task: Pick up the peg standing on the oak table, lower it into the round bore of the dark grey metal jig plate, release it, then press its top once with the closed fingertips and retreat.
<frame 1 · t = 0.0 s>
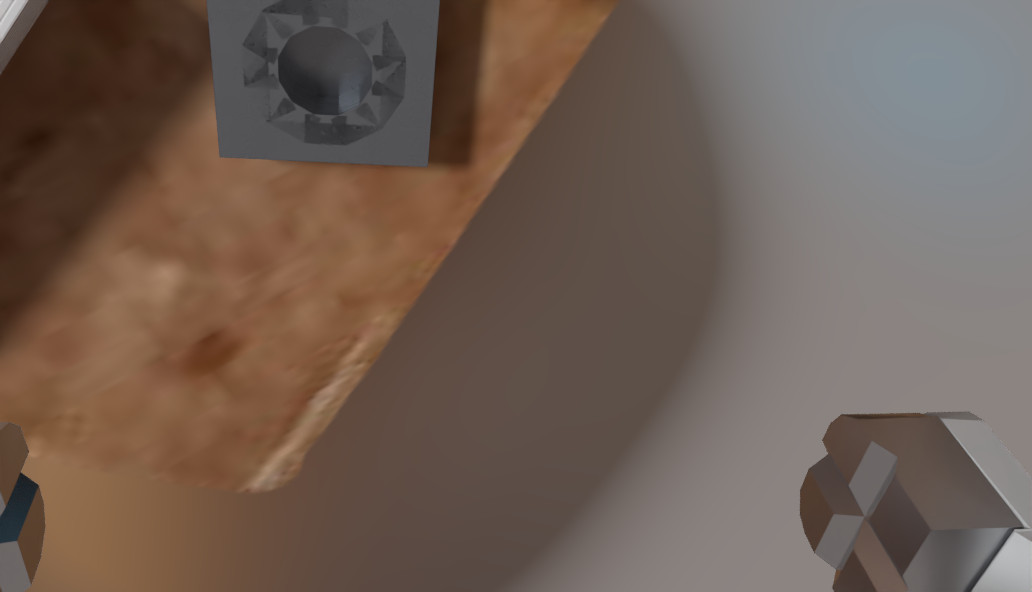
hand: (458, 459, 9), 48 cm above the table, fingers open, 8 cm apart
jig: (327, 17, 53), on the table
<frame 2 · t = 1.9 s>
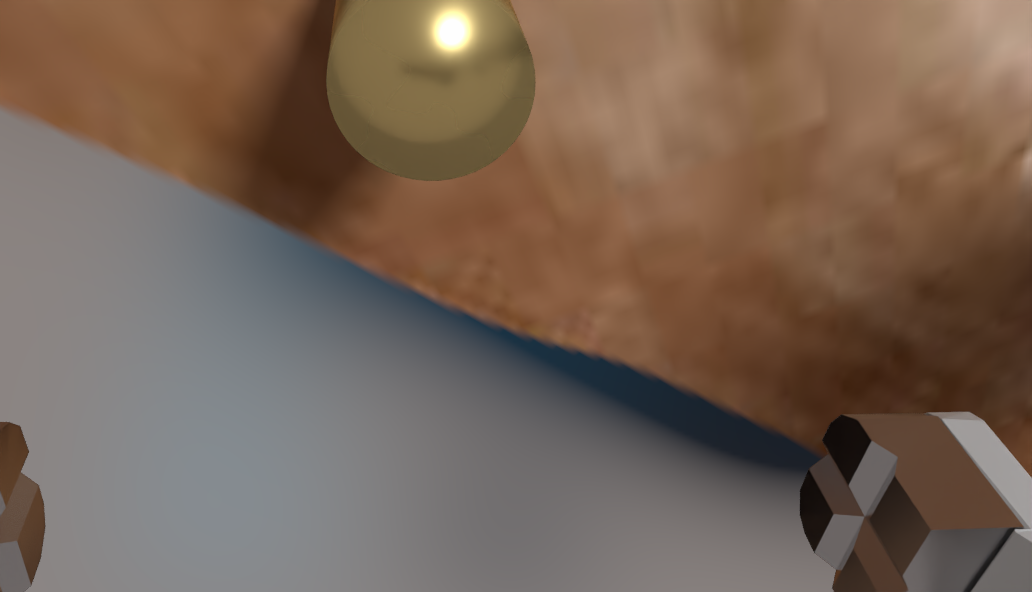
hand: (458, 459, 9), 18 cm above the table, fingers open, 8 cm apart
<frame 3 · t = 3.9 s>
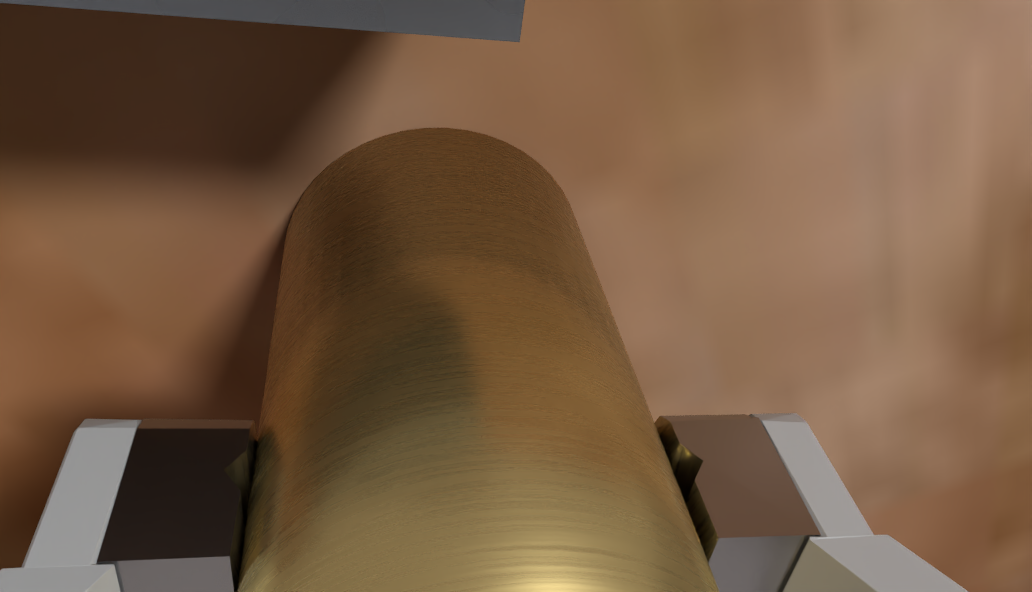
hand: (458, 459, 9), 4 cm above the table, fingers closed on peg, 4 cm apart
peg: (435, 262, 12), on the table, touching gripper
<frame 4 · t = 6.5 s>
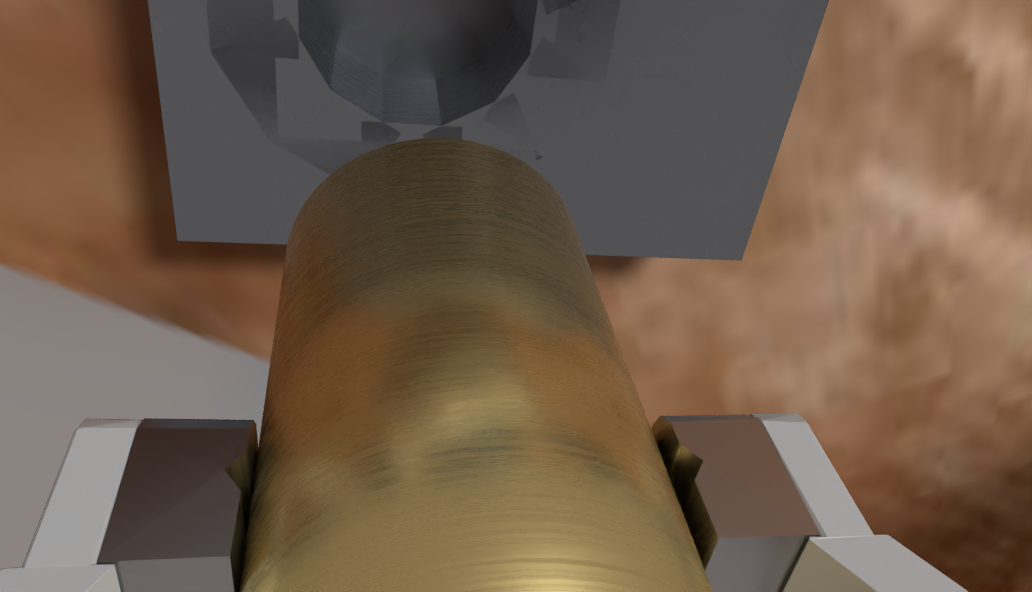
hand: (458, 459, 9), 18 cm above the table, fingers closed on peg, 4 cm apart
peg: (435, 271, 12), point 14 cm above the table, touching gripper
when the fingers open (6 cm above the table, at t = 9.1 s): peg stays where it is, resting on jig.
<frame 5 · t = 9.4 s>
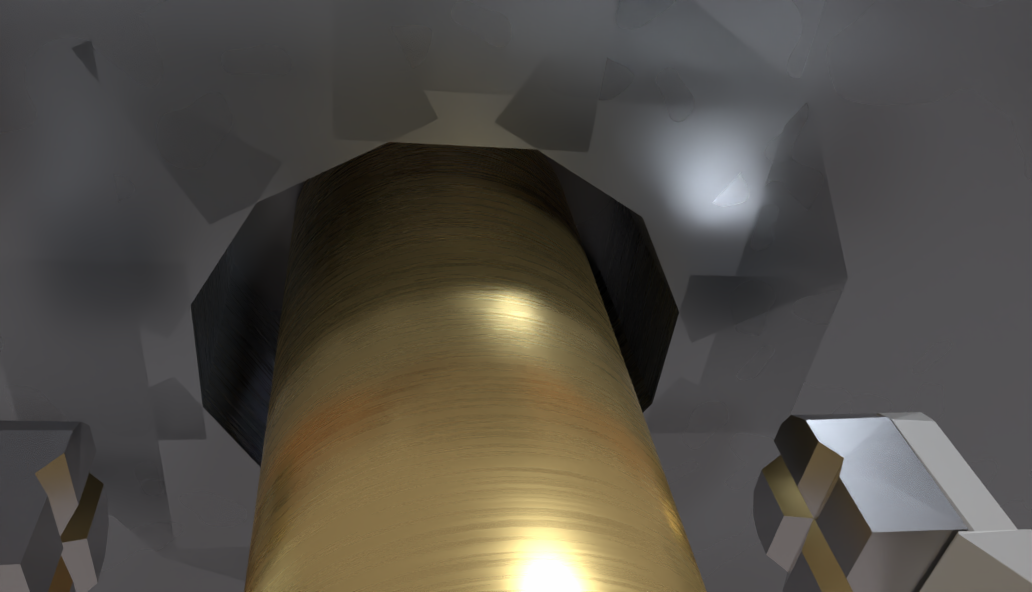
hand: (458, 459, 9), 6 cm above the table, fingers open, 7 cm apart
peg: (434, 235, 12), point 1 cm above the table, touching jig
jig: (549, 197, 14), on the table
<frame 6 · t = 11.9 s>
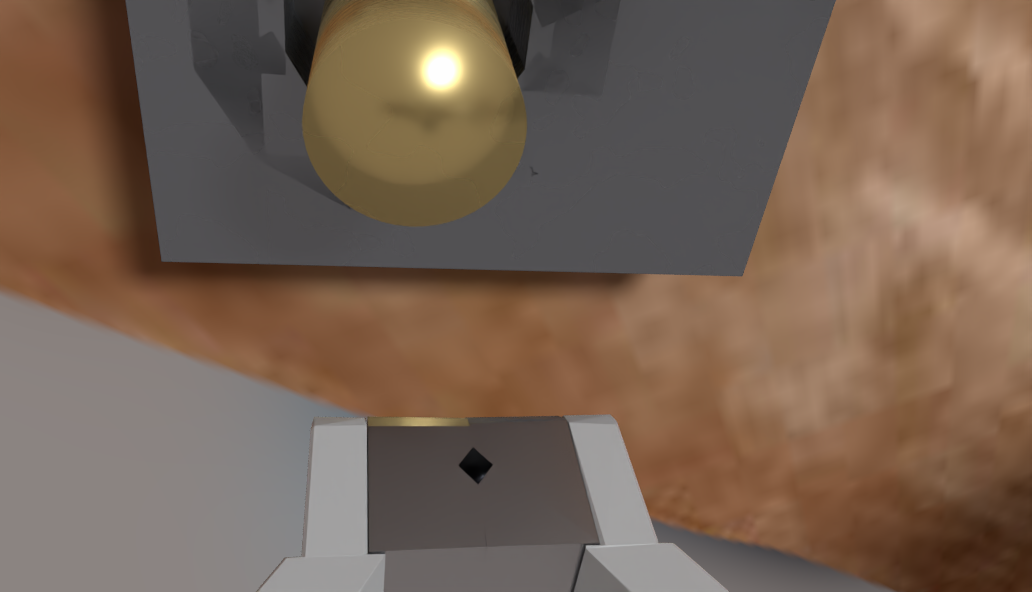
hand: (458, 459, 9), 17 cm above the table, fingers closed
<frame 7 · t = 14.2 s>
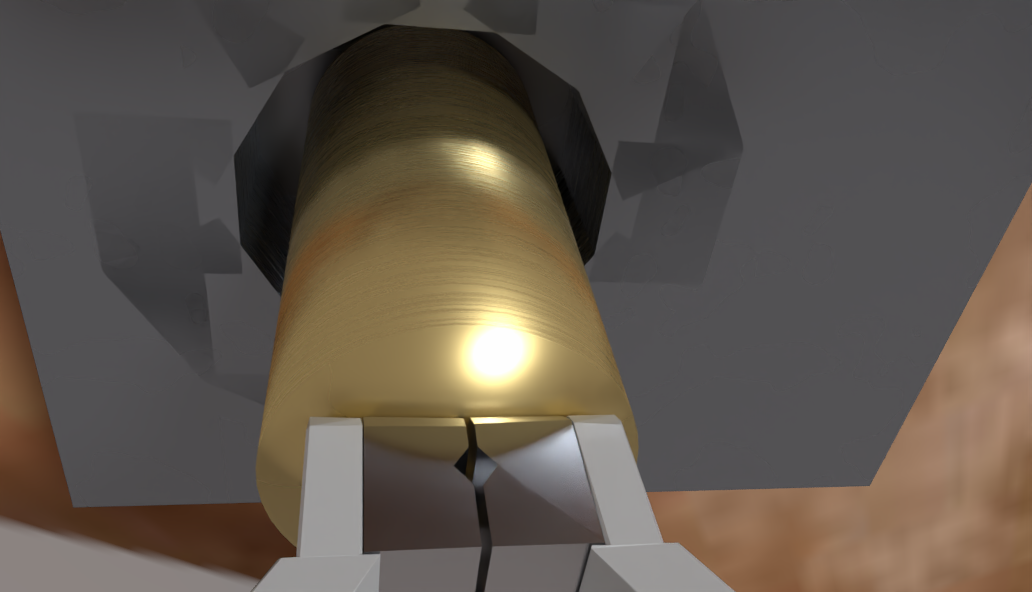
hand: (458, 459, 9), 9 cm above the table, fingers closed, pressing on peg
peg: (422, 133, 15), point 1 cm above the table, touching gripper, jig
jig: (519, 107, 16), on the table
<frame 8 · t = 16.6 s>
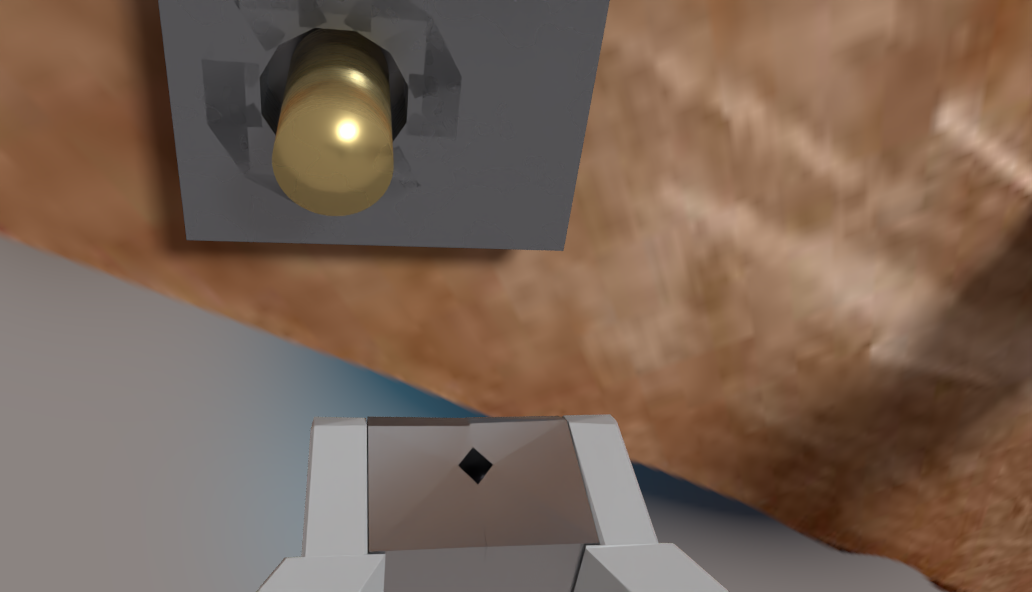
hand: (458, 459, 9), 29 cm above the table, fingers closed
peg: (339, 74, 35), point 1 cm above the table, touching jig
jig: (386, 65, 36), on the table
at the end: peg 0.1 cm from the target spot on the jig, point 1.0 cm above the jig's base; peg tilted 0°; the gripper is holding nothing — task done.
